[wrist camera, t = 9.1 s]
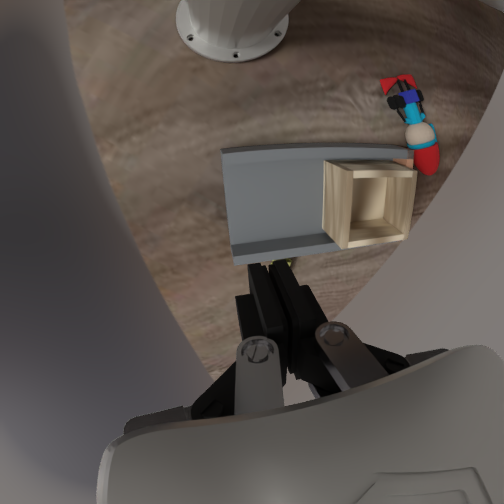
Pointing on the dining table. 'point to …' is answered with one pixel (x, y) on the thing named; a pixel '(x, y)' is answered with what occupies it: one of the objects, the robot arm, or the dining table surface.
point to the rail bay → (286, 196)
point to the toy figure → (415, 124)
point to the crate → (367, 201)
